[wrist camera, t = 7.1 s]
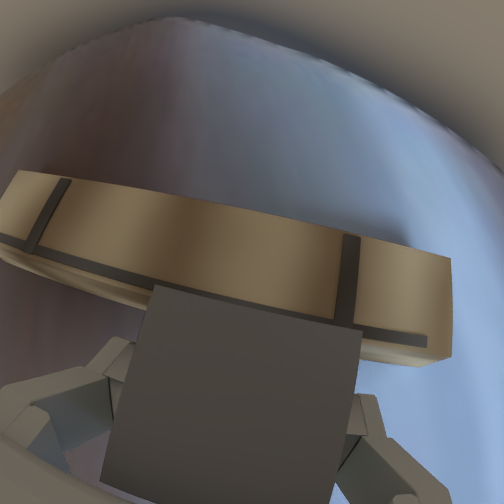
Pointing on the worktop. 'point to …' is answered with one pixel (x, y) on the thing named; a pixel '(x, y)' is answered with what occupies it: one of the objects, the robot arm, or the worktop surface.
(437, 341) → the maple plank
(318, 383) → the post
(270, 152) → the worktop surface
